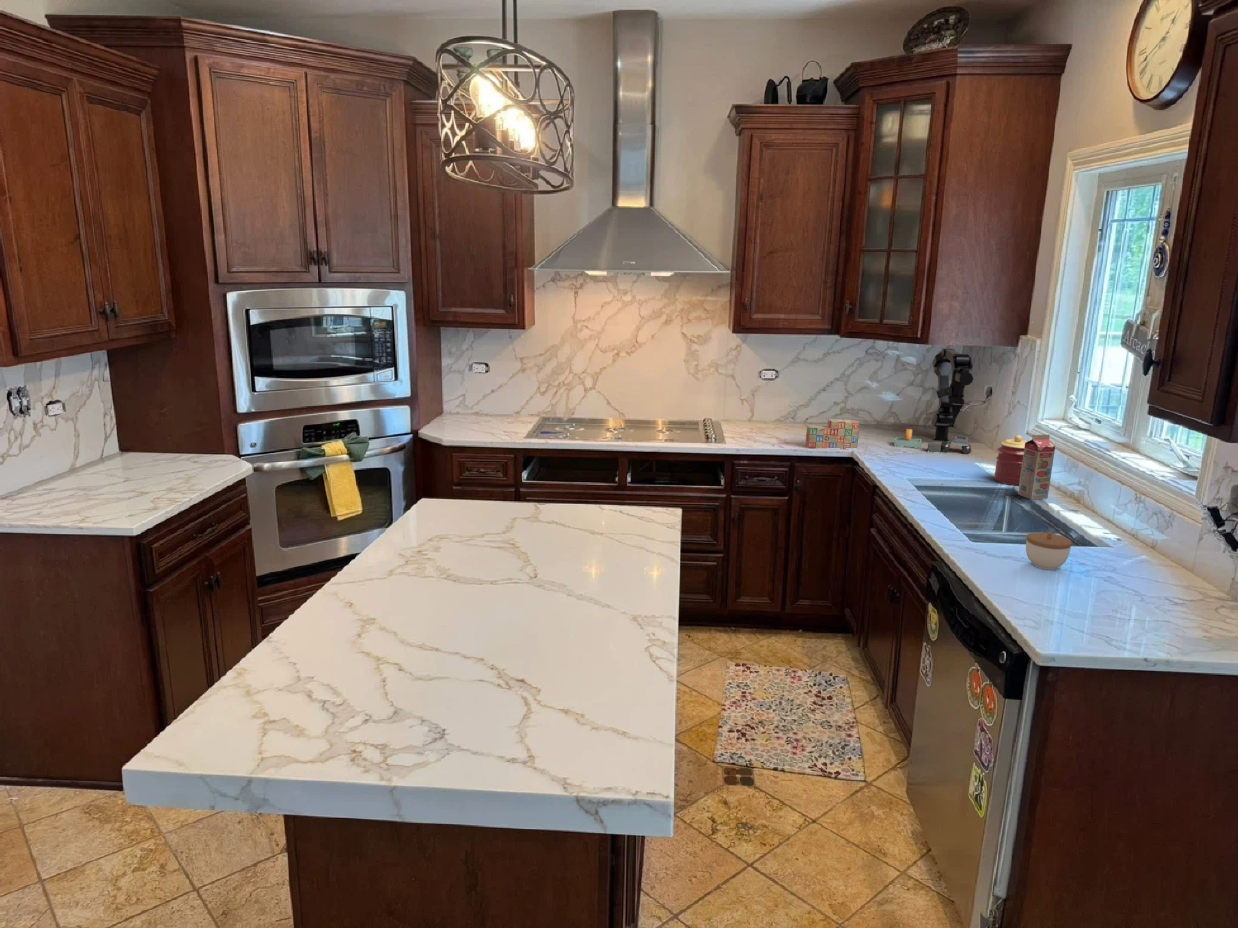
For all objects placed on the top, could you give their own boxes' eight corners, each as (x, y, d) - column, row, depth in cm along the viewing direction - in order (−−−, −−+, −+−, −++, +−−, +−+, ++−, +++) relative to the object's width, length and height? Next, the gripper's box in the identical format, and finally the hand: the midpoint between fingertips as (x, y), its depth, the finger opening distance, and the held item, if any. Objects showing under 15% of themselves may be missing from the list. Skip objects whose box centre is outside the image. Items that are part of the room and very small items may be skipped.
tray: (894, 443, 371) (895, 437, 371) (920, 445, 368) (921, 439, 367) (894, 446, 365) (894, 439, 365) (920, 448, 362) (921, 442, 361)
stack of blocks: (807, 448, 358) (810, 420, 355) (805, 445, 364) (807, 418, 361) (857, 450, 358) (859, 422, 355) (854, 446, 364) (856, 419, 361)
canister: (1010, 487, 301) (1017, 439, 296) (985, 478, 313) (991, 432, 308) (1039, 485, 304) (1046, 438, 300) (1014, 476, 316) (1020, 431, 312)
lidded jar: (1018, 566, 220) (1023, 533, 218) (1028, 556, 228) (1032, 523, 226) (1063, 576, 213) (1068, 542, 211) (1071, 565, 222) (1076, 532, 219)
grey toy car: (940, 448, 363) (941, 434, 362) (970, 451, 359) (971, 437, 357) (940, 452, 356) (941, 438, 354) (970, 454, 352) (972, 440, 350)
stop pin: (904, 444, 368) (906, 428, 366) (910, 444, 367) (912, 429, 366) (904, 445, 366) (906, 429, 364) (910, 445, 365) (912, 430, 363)
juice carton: (1018, 494, 291) (1026, 433, 286) (1034, 493, 292) (1042, 432, 287) (1031, 499, 285) (1039, 437, 279) (1047, 498, 286) (1056, 436, 281)
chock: (927, 450, 360) (928, 442, 359) (939, 451, 358) (940, 443, 358) (927, 452, 356) (928, 444, 355) (940, 453, 354) (941, 445, 353)
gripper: (938, 378, 373) (934, 412, 376) (938, 383, 356) (934, 419, 359) (965, 380, 369) (960, 414, 373) (966, 385, 352) (962, 421, 356)
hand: (954, 417), depth 365 cm, fingers open, 9 cm apart
